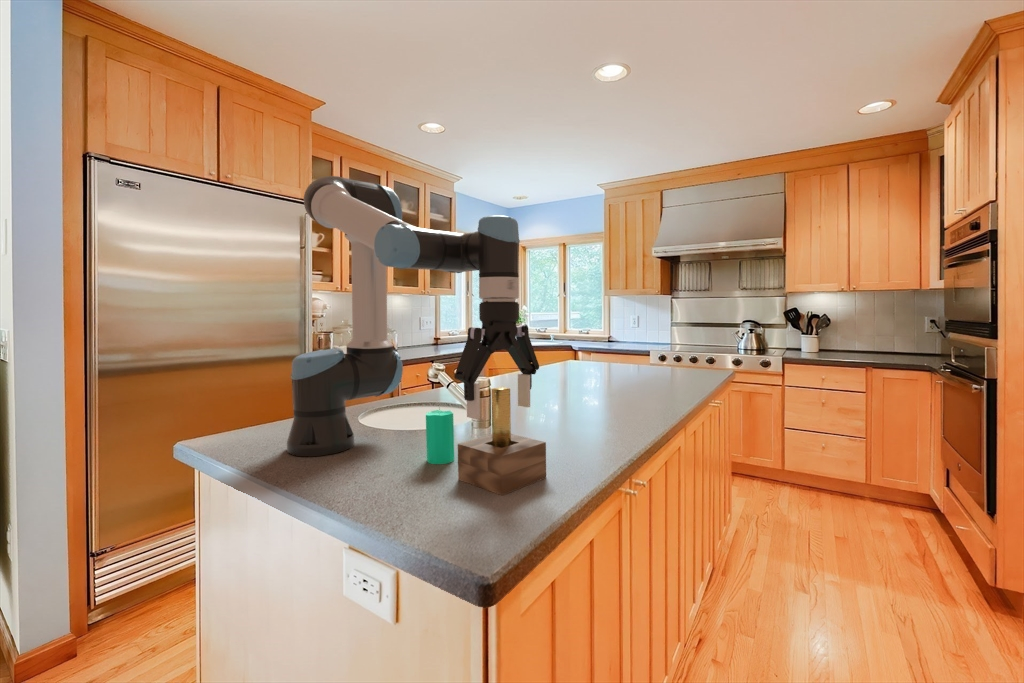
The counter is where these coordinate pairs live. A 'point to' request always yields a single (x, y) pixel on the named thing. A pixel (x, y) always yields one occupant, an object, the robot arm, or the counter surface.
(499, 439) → the brass pin
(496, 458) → the bore block
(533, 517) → the counter surface
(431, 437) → the candle
